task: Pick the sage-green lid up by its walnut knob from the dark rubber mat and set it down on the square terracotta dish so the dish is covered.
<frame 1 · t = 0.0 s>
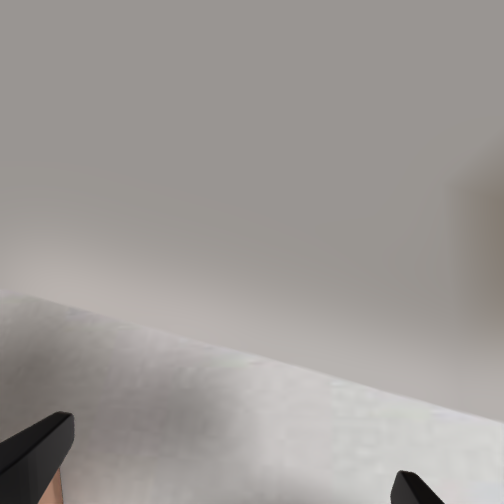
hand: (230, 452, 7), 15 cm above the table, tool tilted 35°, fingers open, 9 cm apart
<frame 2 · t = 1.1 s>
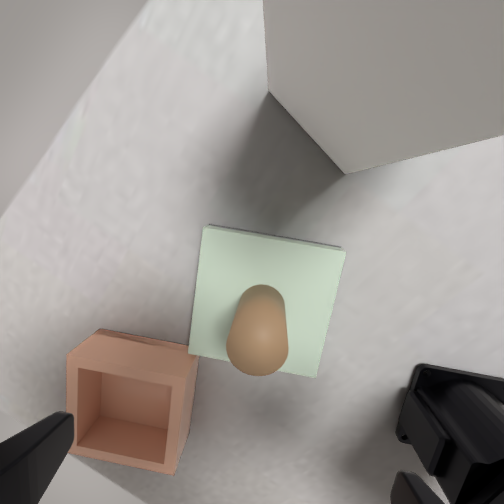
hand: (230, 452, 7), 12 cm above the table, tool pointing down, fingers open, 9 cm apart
lid: (262, 299, 19), resting on mat
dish: (145, 382, 22), on the table
milk carton: (350, 90, 17), on the table
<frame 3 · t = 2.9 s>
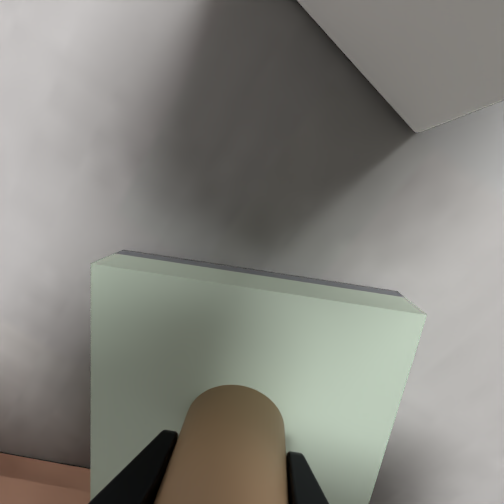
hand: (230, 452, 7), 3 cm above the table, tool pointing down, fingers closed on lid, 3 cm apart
lid: (239, 398, 9), resting on mat, touching gripper
mat: (240, 388, 10), on the table
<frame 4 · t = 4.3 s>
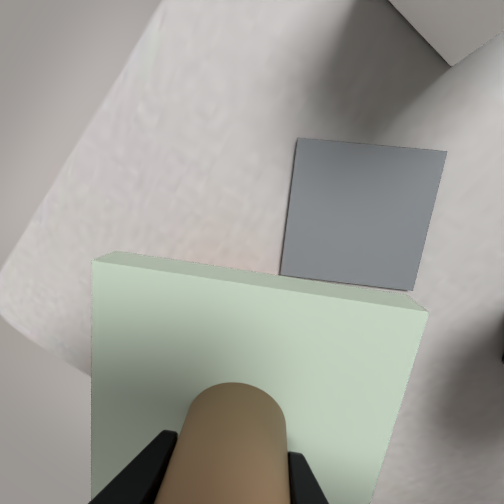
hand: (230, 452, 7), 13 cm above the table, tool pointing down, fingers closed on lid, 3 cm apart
lid: (240, 396, 9), point 11 cm above the table, touching gripper
mat: (355, 216, 18), on the table
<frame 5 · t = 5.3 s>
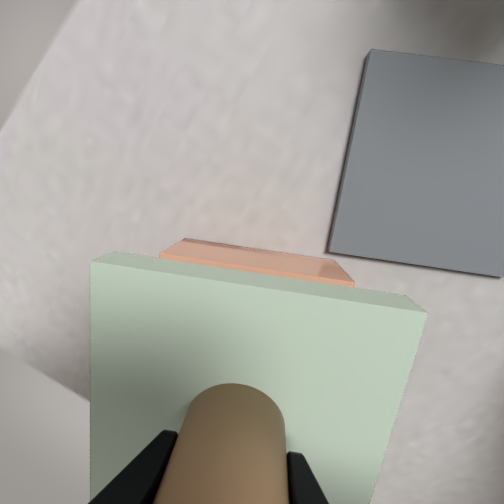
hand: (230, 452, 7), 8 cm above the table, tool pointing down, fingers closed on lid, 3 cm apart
lid: (239, 397, 9), point 6 cm above the table, touching gripper
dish: (249, 318, 15), on the table
mat: (439, 172, 13), on the table
when the fingers open (7 cm above the table, at t = 5.7 s): lid drops 1 cm, resting on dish.
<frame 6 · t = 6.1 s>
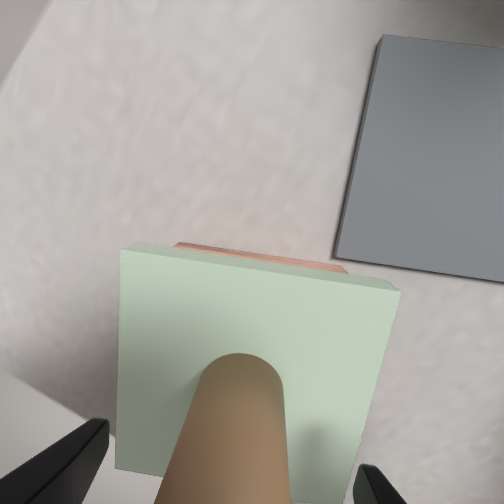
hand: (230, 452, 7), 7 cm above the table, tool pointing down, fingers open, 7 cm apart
lid: (244, 369, 11), point 3 cm above the table, touching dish
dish: (249, 327, 14), on the table
mat: (457, 170, 12), on the table
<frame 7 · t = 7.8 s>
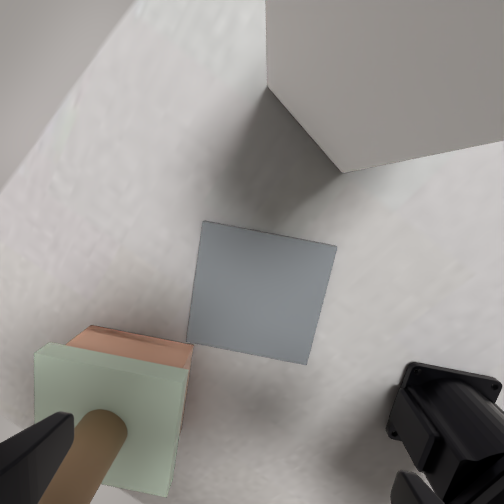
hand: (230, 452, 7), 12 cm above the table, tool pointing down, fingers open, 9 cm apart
lid: (114, 414, 18), point 3 cm above the table, touching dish
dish: (137, 379, 22), on the table
mat: (257, 294, 20), on the table
milk carton: (349, 88, 16), on the table
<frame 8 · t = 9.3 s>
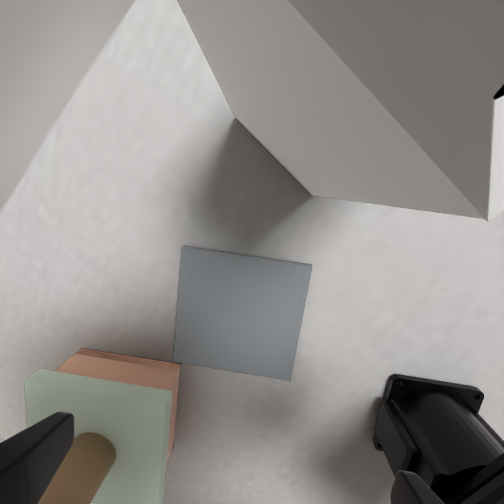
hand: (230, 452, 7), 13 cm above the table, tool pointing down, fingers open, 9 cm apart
lid: (104, 435, 19), point 3 cm above the table, touching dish
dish: (129, 398, 22), on the table
mat: (239, 313, 20), on the table
milk carton: (314, 114, 17), on the table
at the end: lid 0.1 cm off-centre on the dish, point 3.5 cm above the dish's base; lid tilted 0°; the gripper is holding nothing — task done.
